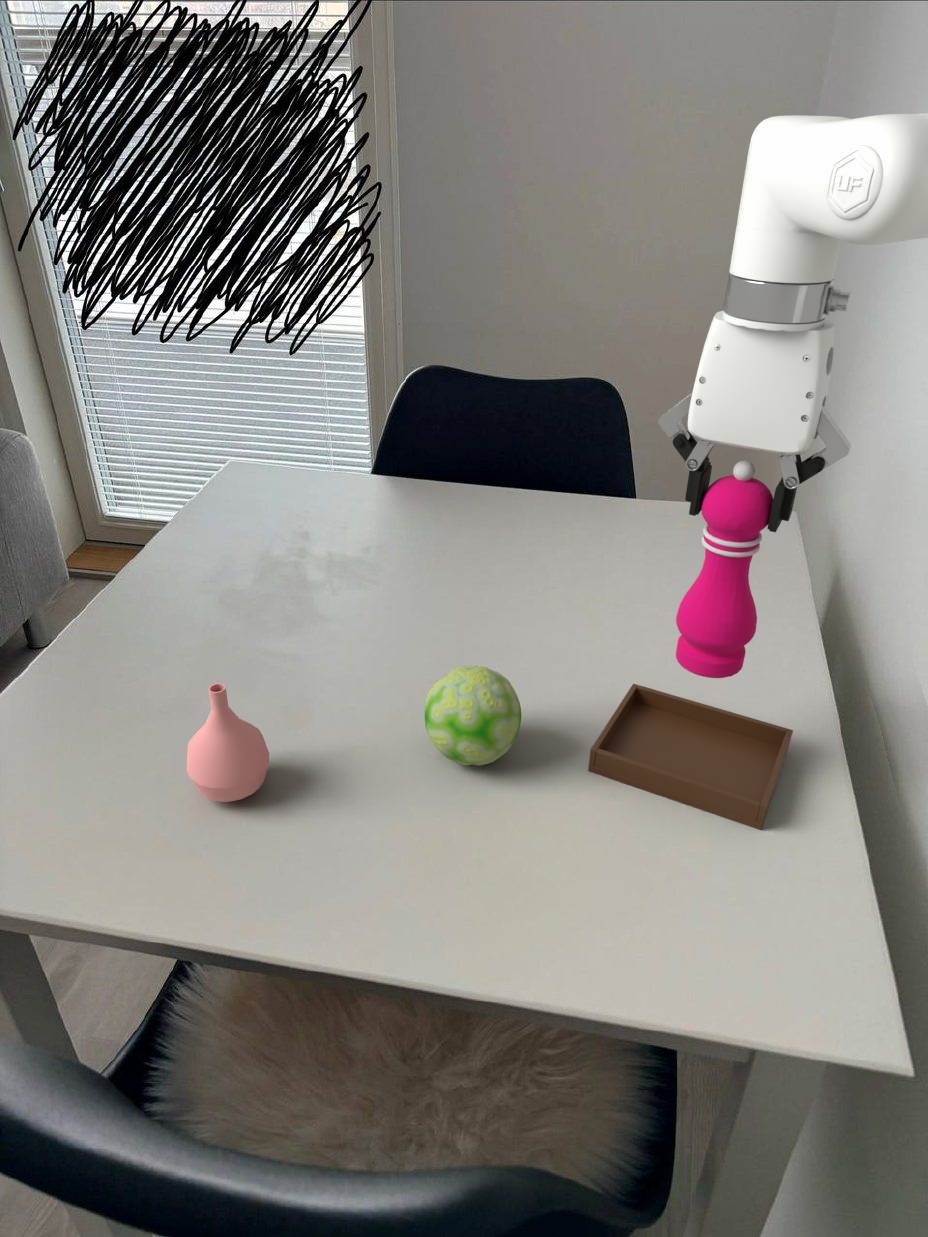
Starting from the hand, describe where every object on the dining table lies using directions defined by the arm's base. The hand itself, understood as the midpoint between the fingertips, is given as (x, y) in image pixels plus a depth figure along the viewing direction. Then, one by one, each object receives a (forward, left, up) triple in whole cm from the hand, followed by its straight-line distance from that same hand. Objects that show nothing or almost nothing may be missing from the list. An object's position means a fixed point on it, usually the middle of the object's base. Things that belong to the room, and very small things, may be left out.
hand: (735, 516), depth 76 cm
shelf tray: (0, 0, -27) cm, 27 cm away
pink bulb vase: (+38, +26, -28) cm, 54 cm away
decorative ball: (+20, +10, -28) cm, 36 cm away
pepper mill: (0, 0, -15) cm, 15 cm away
